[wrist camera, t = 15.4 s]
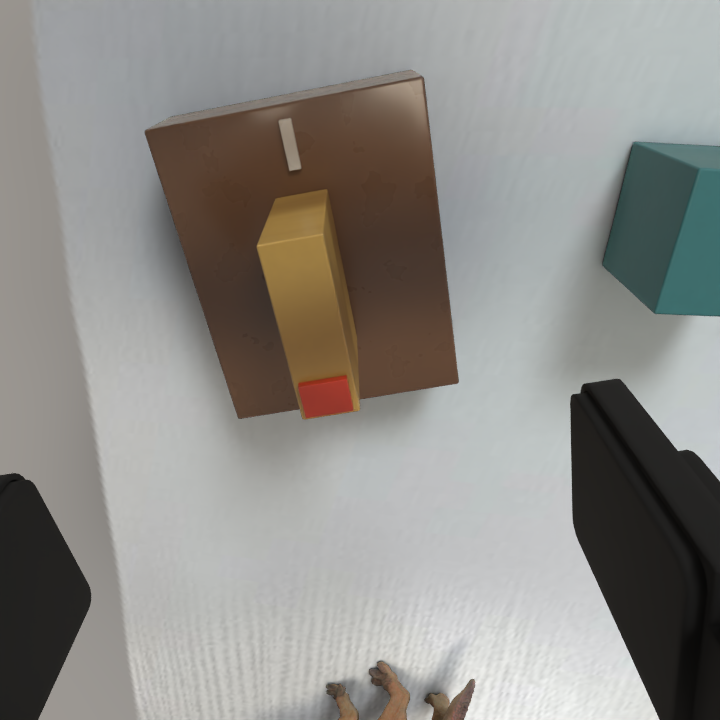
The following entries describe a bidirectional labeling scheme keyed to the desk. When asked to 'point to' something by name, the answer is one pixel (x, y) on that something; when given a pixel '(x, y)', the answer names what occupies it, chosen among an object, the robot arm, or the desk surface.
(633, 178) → the key block
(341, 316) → the thumb turn
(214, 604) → the desk surface
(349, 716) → the dinosaur figurine
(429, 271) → the lock plate
